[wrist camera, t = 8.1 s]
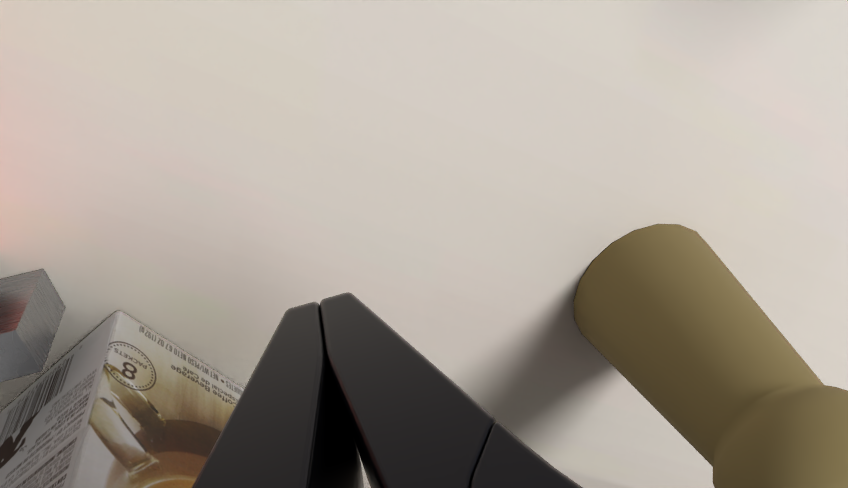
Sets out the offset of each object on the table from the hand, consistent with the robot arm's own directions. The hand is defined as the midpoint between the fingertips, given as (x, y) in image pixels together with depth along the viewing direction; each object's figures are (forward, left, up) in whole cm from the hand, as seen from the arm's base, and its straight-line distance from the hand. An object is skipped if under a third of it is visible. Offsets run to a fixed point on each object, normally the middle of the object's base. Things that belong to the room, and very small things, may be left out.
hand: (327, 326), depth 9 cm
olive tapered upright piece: (-12, -12, -12) cm, 20 cm away
